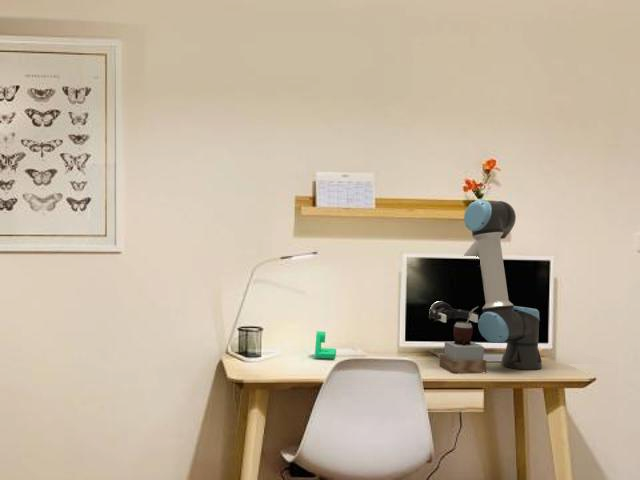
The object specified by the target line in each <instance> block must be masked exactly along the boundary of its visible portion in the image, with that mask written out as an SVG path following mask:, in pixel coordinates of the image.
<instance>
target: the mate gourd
mask: <svg viewBox="0 0 640 480" xmlns="http://www.w3.org/2000/svg"><path fill="white" fill-rule="evenodd" d="M479 307H480V306H479V305H478V306H476V307H474V308H472V309H471V311H470V315H469V318H468V319H467V321H456V322H455V324H454V325H453V339H454V341H453V342H454V344H462V345H466V344H471V343H470V342H472V341H471V340H472V337H473V334H474V333H473V332H474V331H473V325H472V323H471V322H469V321H470V320H469V319H470V317H471V314H472V313H473V312H475V311H476V310H477V309H478V308H479Z"/></svg>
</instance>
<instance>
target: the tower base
mask: <svg viewBox="0 0 640 480" xmlns="http://www.w3.org/2000/svg"><path fill="white" fill-rule="evenodd" d="M439 367H440V368H442V369H444V370H446V371H447V372H449V373H451V374H455V375H456V374H457V373H458V374H459V373H460V374H482V373H481V372H486V373H487V360H485V359H483V360H474V361H455V360H453V359H451V358H449V357H447V356H445V355H444V353H440V354H439Z"/></svg>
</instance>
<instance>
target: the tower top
mask: <svg viewBox="0 0 640 480" xmlns="http://www.w3.org/2000/svg"><path fill="white" fill-rule="evenodd" d="M454 342H455V341H444V353H443V354H444V355H445V356H447V357H449V358H451V359H453V360H455V361H474V360H484V355H485V346H482V345H481V344H478V343H476V342H474V341H470V343H471V344H466V345H462V344H454Z"/></svg>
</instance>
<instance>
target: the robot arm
mask: <svg viewBox="0 0 640 480" xmlns="http://www.w3.org/2000/svg"><path fill="white" fill-rule="evenodd" d="M465 209H466V210H465V211H464V214H463V216H464V217H463V221H464V225H465V227H466V228H467V229H468V230H470V232H471V233H472V235H471V236H472V239H474V241H473V243H472V244H471V245H470V247H468V249H467V250H466V252H465V253H464V254H463V255H464V256H476V257H477V256H478V257H479V258H480V265H479V266H480V271H481V279H482V280H481V281H482V286H483V293H484V301H485V304H484V305H483V307H482V308H481V309H482V314H481V315H480V316H479V314H478V313H477V312H476V311H473V313H472V314H471V317H470V319H469V321H471V322H473V323H477V326H478V331H479V334H480V336H482V337H483V338H484V339H485V340H486V341H487V342H489V343H494V344H495V343H497V344H503V343H506V347H505V349H504V352H503V354H502V357H501V366H504V367H506V368H509V369H515V370H526V371H527V370H528V371H529V370H530V371H533V370H534V371H535V370H539V369H542V366H543V361H542V358H541V354H540V350H539V332H540V331H539V330H540V329H539V328H540V311H539V310H538V309H537V308H531V307H526V306H517V305H514V303H512V302H511V301H510V300H509V294H508V287H507V279H506V278H507V277H506V271H505V266H504V258H503V250H502V249H503V248H502V243H501V240H504V239H506V237H507V236H509V234H510V233H511V231H512V230H513V228H514V226H515V224H516V217H517V215H516V211H515V209H514V207H513V206H512V205H511V204H509V202H506V201H503V200H498V201H497V200H486V199H483V200H476V201H473V202H471V203H469V205H468V206H467V208H465ZM451 306H452V305H450V304H449V303H447V302H445V301H443V300H441V301H436V302H434V303H433V304H432V305H431V307H430V309H429V316H428V318H429V320H432V319H434V320H433V321H434V322H438V321H440V322H442V323H447V321H448V320H449V319H458V318H459V319H464V320H465V319H467V320H468V318H469V315H470V312H471V311H470V310H463V309H455V308H452V307H451Z"/></svg>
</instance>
